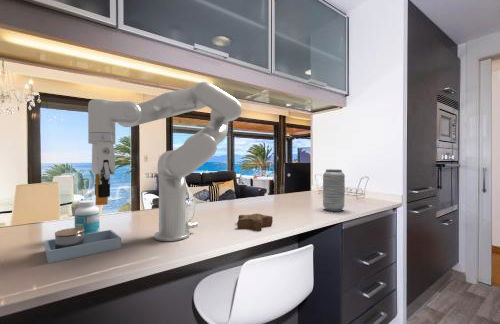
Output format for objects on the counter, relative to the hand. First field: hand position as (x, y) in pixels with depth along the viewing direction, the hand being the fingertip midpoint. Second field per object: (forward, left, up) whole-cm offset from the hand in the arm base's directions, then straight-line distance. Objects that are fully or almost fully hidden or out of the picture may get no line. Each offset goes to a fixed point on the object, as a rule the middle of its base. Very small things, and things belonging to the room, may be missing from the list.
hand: (102, 195), depth 81 cm
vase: (-112, +18, -17) cm, 115 cm away
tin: (+9, 0, -16) cm, 18 cm away
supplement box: (0, 0, -3) cm, 3 cm away
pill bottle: (+2, -13, -17) cm, 21 cm away
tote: (+5, 0, -17) cm, 17 cm away
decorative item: (-54, +13, -17) cm, 58 cm away
